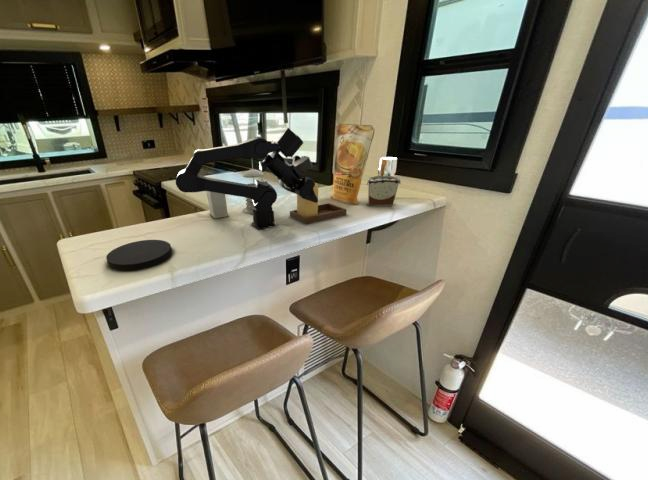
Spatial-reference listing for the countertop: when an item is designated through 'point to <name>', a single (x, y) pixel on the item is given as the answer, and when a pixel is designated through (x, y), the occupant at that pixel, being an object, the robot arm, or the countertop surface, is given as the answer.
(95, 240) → the countertop surface
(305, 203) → the box
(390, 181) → the food container
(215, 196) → the small box
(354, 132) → the pancake mix bag
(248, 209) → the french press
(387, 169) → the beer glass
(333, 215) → the tray
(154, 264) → the wireless charger
